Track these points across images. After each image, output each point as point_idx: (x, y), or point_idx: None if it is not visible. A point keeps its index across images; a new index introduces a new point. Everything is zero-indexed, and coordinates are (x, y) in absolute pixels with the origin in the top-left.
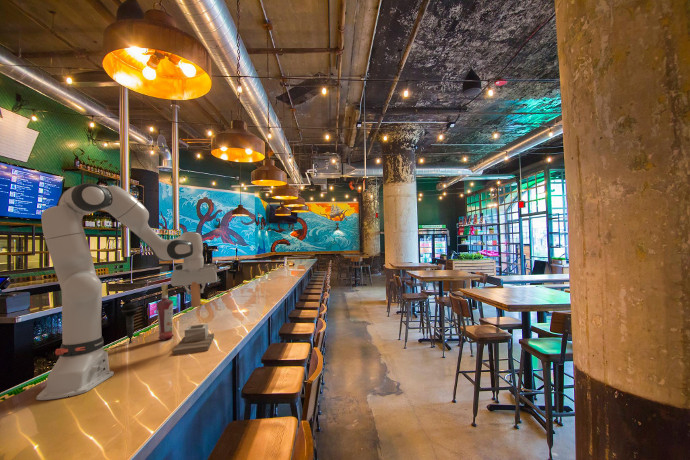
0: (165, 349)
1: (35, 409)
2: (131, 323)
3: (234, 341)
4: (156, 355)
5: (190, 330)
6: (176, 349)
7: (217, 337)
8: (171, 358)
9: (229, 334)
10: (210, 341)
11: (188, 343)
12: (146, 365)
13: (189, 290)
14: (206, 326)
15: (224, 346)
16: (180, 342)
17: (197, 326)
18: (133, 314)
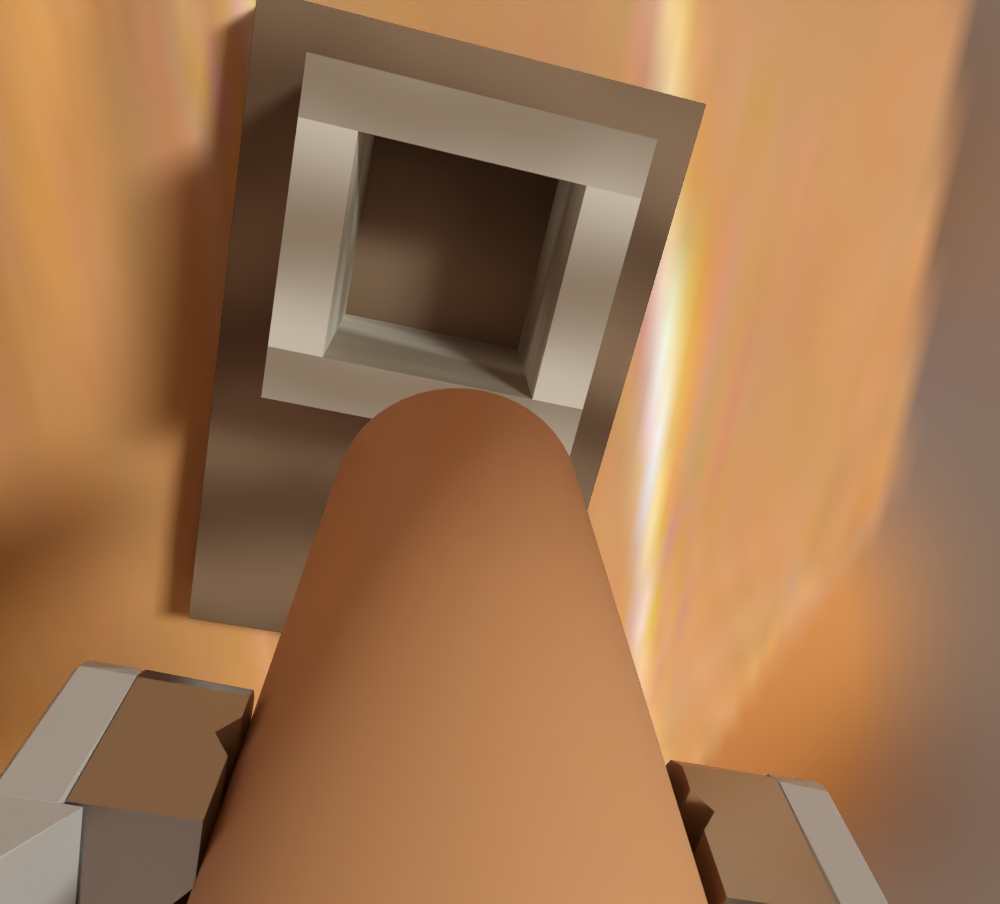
0: (71, 300)
1: None
2: None
3: (840, 494)
4: (18, 486)
5: (353, 410)
6: (223, 597)
7: (724, 155)
8: (202, 671)
9: (903, 102)
10: (594, 474)
11: (342, 438)
12: (5, 733)
13: (99, 878)
14: (605, 320)
15: (702, 605)
16: (237, 318)
17: (469, 156)
18: None
